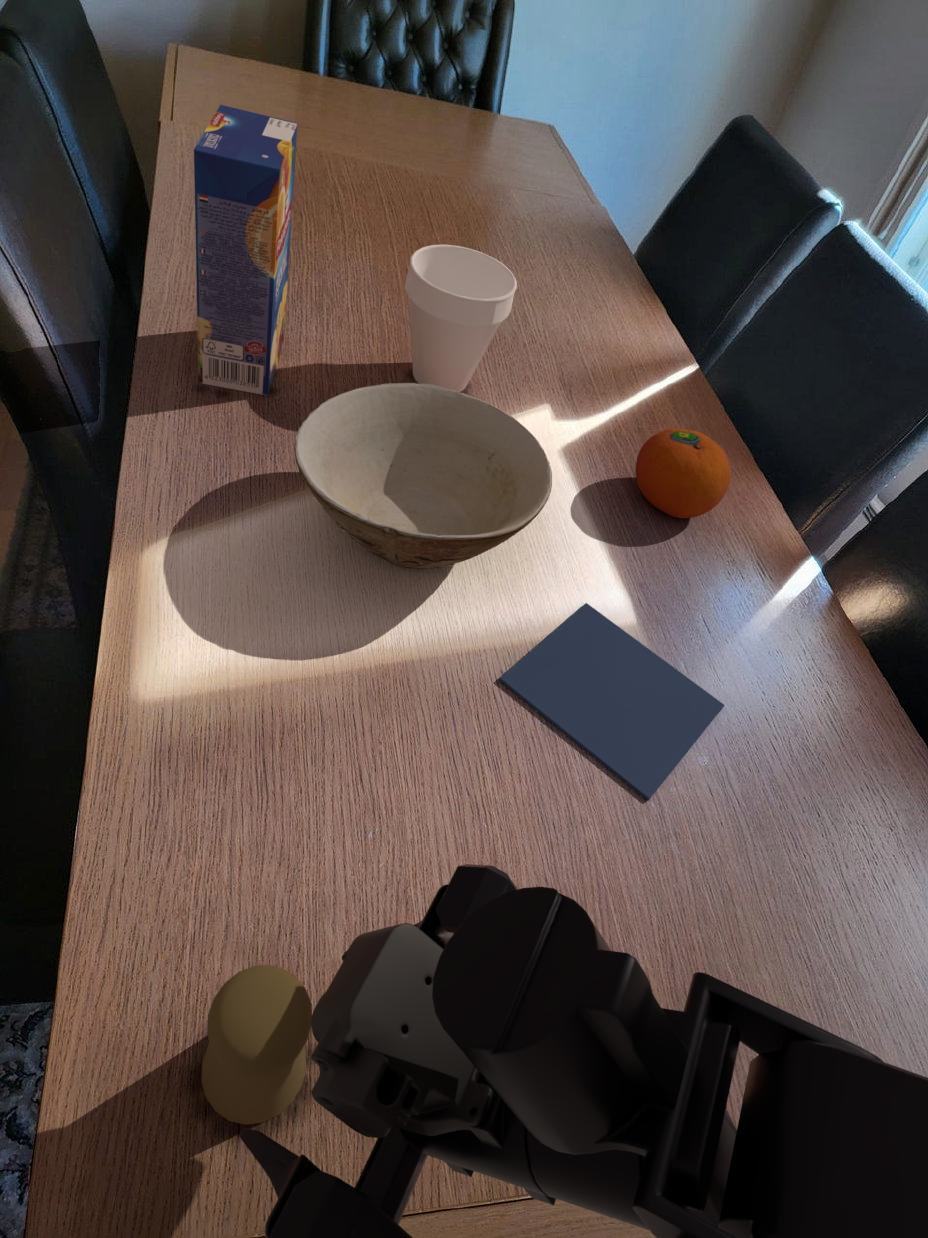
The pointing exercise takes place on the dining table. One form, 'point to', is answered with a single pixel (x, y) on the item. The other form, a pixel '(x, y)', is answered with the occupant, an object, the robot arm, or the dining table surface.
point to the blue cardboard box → (242, 246)
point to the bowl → (422, 471)
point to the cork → (256, 1044)
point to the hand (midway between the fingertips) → (300, 1042)
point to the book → (614, 698)
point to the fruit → (682, 472)
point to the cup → (454, 311)
